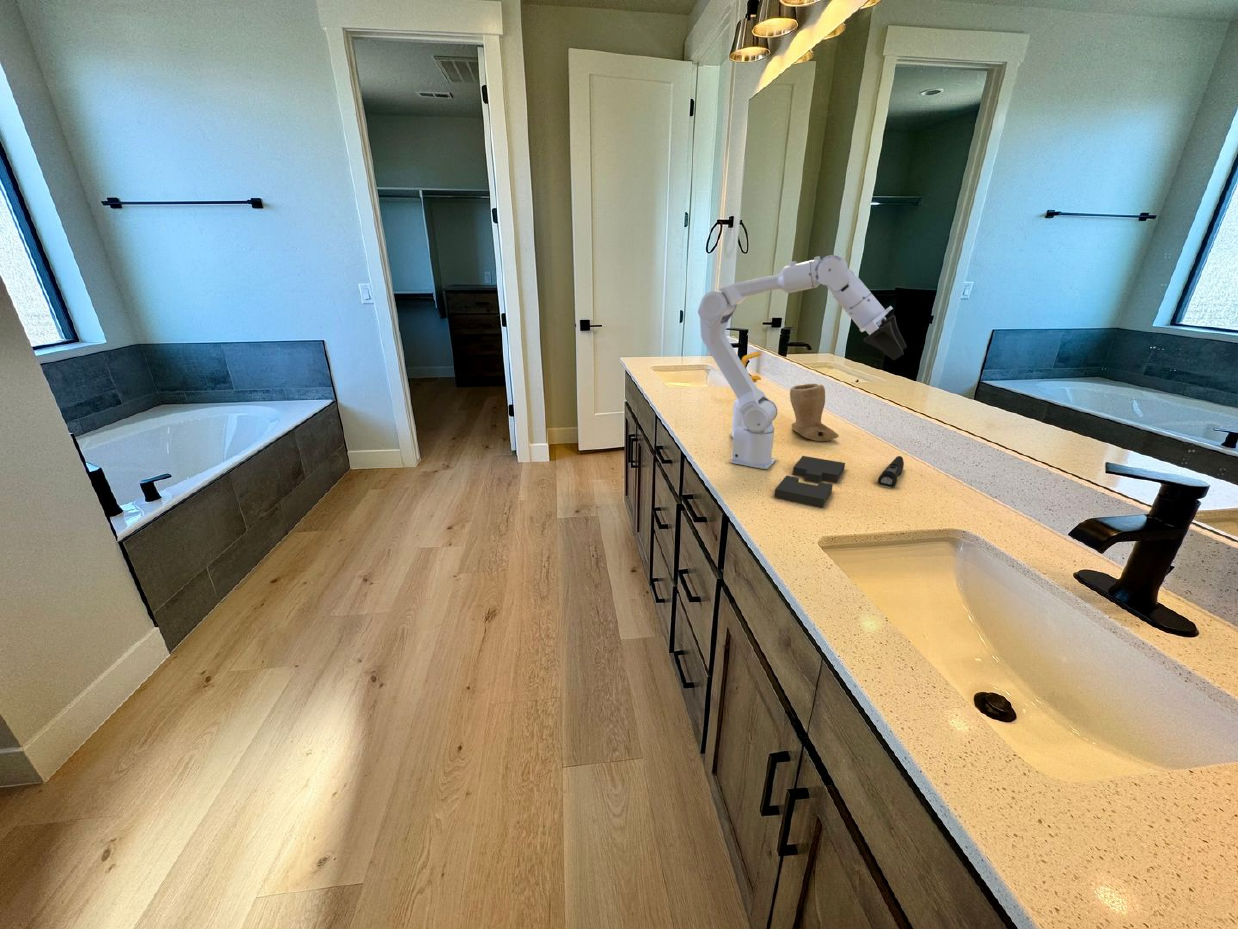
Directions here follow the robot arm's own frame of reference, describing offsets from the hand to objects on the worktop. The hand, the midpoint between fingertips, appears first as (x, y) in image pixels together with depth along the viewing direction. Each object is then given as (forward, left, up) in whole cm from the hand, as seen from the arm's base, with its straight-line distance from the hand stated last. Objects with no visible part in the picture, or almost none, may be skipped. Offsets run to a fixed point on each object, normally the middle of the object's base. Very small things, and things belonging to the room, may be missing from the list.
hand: (900, 353), depth 102 cm
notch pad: (-12, -16, -29) cm, 35 cm away
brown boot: (-21, +28, -29) cm, 46 cm away
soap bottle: (-36, +17, -29) cm, 50 cm away
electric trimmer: (+3, +5, -29) cm, 30 cm away
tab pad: (-12, -2, -29) cm, 32 cm away
